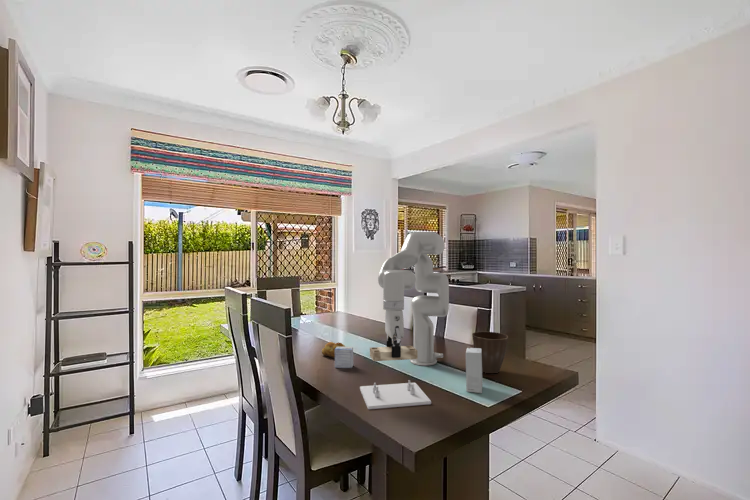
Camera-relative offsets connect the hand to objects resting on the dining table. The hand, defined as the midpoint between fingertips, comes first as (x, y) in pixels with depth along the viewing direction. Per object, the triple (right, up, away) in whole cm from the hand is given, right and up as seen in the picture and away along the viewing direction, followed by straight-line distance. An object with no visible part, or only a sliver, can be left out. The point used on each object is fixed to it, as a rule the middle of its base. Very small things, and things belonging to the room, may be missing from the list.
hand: (393, 354), depth 129 cm
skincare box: (+31, -16, +7) cm, 36 cm away
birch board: (0, -1, 0) cm, 1 cm away
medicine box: (-21, -16, +34) cm, 43 cm away
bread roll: (-27, -16, +51) cm, 60 cm away
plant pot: (+44, -16, +27) cm, 54 cm away
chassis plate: (0, -15, 0) cm, 15 cm away
